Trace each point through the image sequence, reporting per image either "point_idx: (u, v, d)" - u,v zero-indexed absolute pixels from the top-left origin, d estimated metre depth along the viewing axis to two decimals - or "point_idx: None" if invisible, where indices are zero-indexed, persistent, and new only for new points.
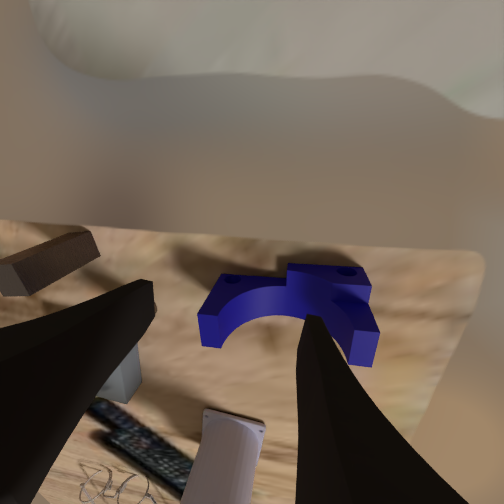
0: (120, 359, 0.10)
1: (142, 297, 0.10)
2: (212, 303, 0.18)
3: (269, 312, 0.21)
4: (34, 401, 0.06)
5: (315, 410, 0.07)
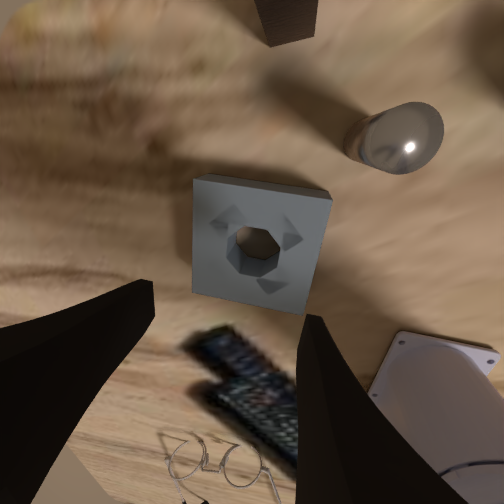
0: (120, 359, 0.10)
1: (142, 297, 0.10)
2: None
3: None
4: (34, 401, 0.06)
5: (315, 410, 0.07)
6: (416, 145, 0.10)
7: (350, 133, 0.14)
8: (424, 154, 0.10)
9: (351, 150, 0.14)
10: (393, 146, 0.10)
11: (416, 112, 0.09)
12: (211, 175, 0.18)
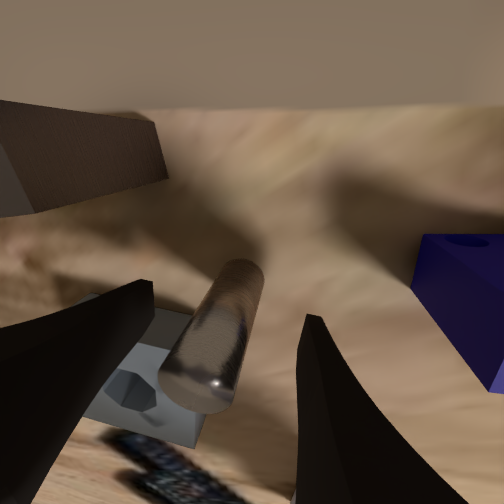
0: (120, 359, 0.10)
1: (142, 297, 0.10)
2: None
3: None
4: (34, 401, 0.06)
5: (315, 410, 0.07)
6: (207, 393, 0.08)
7: None
8: (219, 402, 0.08)
9: None
10: (183, 389, 0.08)
11: (196, 366, 0.07)
12: (88, 299, 0.16)
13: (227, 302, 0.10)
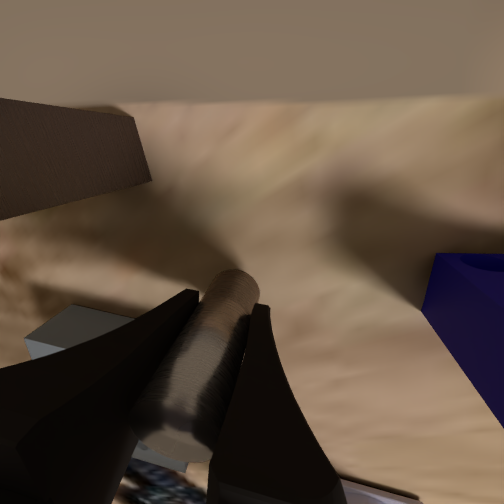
0: None
1: (191, 308, 0.10)
2: None
3: None
4: (110, 423, 0.06)
5: None
6: (188, 441, 0.07)
7: None
8: (202, 451, 0.07)
9: None
10: (159, 435, 0.07)
11: (172, 412, 0.06)
12: (68, 312, 0.15)
13: (215, 325, 0.09)
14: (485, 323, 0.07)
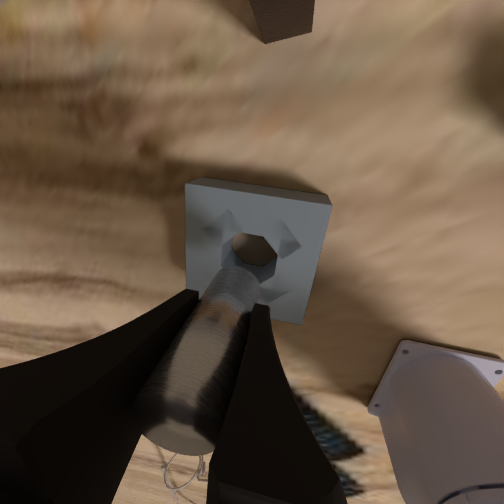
0: None
1: (191, 308, 0.10)
2: None
3: None
4: (110, 423, 0.06)
5: None
6: (189, 434, 0.07)
7: None
8: (203, 444, 0.07)
9: None
10: (161, 428, 0.07)
11: (176, 405, 0.06)
12: (205, 179, 0.17)
13: (219, 320, 0.09)
14: None
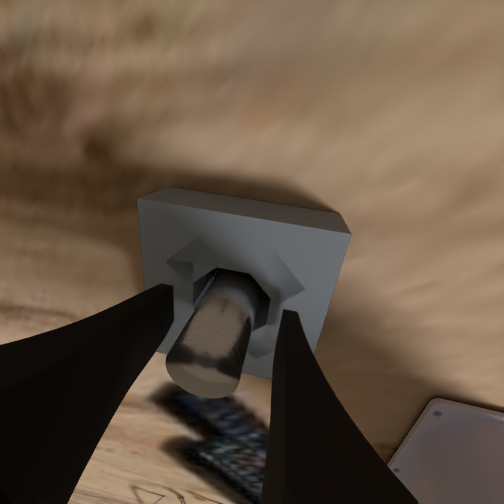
0: (143, 365, 0.10)
1: (164, 302, 0.10)
2: None
3: None
4: (68, 411, 0.06)
5: (279, 401, 0.07)
6: (213, 378, 0.08)
7: None
8: (224, 387, 0.08)
9: None
10: (190, 374, 0.08)
11: (205, 352, 0.08)
12: (172, 190, 0.12)
13: (233, 293, 0.10)
14: None
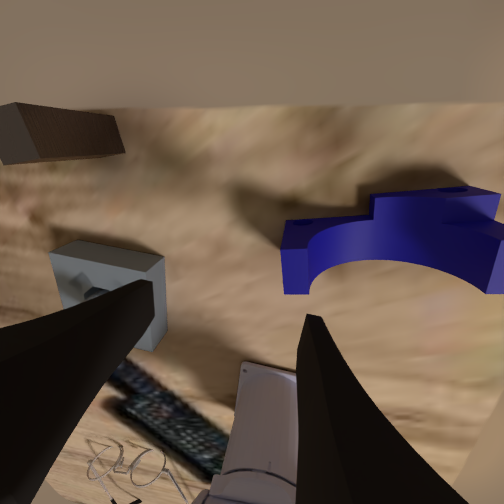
0: (120, 359, 0.10)
1: (142, 297, 0.10)
2: (292, 240, 0.15)
3: (351, 256, 0.18)
4: (34, 401, 0.06)
5: (315, 410, 0.07)
6: None
7: None
8: None
9: None
10: None
11: None
12: (75, 243, 0.23)
13: None
14: None
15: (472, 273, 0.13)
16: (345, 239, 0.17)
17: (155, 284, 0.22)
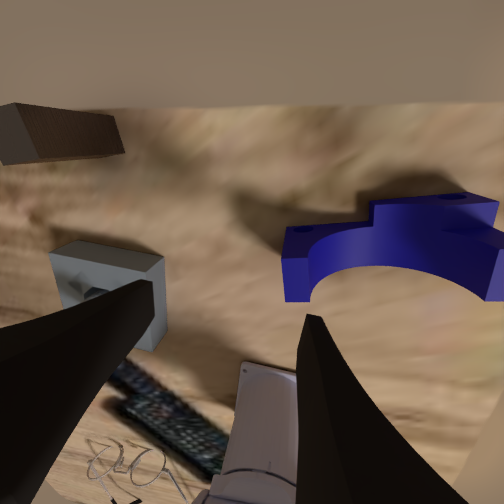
0: (120, 359, 0.10)
1: (142, 297, 0.10)
2: (292, 248, 0.15)
3: (351, 263, 0.18)
4: (34, 401, 0.06)
5: (315, 410, 0.07)
6: None
7: None
8: None
9: None
10: None
11: None
12: (75, 243, 0.23)
13: None
14: None
15: (471, 280, 0.14)
16: (345, 246, 0.17)
17: (155, 284, 0.22)
